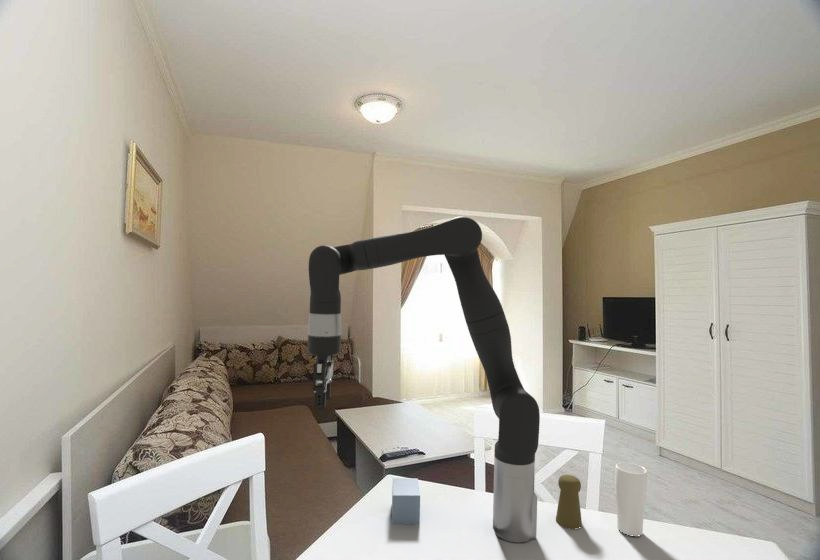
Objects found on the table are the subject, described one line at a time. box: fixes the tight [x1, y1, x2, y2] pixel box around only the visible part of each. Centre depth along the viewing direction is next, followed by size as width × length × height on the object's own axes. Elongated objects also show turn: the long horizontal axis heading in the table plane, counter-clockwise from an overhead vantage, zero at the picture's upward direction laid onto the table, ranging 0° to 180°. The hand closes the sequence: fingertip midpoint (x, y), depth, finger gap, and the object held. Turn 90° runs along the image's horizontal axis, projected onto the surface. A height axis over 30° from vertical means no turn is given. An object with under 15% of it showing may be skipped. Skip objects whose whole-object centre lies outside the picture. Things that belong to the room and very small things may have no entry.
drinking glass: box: [614, 461, 648, 536], centre depth 101 cm, size 7×7×15 cm
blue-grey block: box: [391, 477, 421, 525], centre depth 104 cm, size 9×6×8 cm
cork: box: [555, 474, 583, 530], centre depth 105 cm, size 6×6×11 cm
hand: (322, 403), depth 98 cm, fingers open, 8 cm apart
